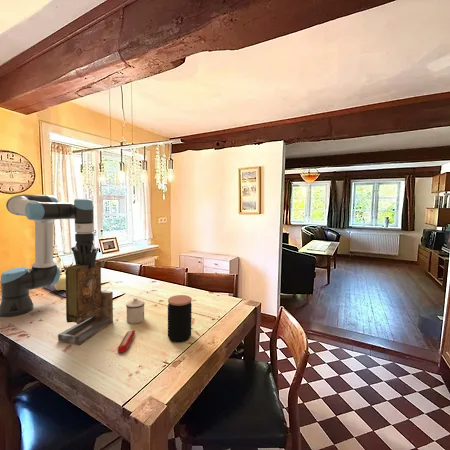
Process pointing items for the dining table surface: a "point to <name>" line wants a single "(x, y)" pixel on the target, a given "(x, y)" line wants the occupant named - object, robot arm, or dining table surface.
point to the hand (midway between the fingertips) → (85, 283)
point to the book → (83, 292)
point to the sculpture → (61, 283)
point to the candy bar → (126, 341)
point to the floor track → (90, 323)
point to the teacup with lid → (135, 311)
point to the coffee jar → (179, 318)
